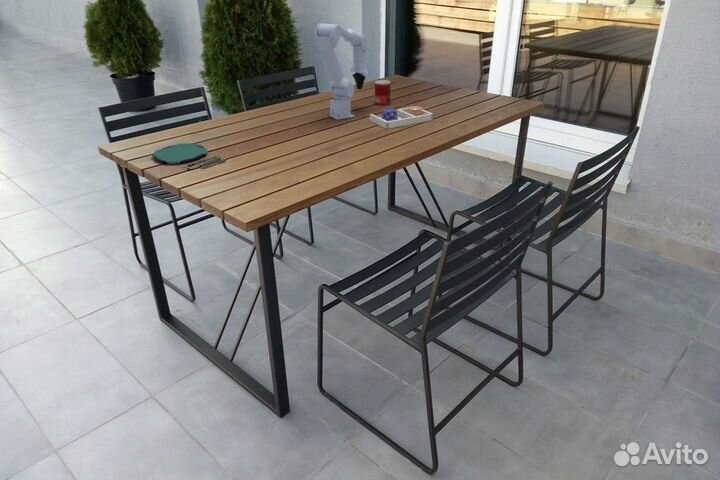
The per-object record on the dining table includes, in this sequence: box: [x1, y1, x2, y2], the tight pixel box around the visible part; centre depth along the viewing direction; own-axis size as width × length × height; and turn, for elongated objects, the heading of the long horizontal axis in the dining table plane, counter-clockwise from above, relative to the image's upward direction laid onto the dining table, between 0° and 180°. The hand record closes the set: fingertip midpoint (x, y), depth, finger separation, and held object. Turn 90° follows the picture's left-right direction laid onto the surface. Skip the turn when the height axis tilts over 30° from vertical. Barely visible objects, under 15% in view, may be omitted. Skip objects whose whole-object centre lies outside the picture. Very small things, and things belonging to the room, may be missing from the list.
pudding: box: [378, 108, 403, 121], centre depth 252 cm, size 12×12×5 cm
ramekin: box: [407, 105, 423, 116], centre depth 254 cm, size 7×7×5 cm
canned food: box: [374, 79, 391, 106], centre depth 277 cm, size 8×8×11 cm
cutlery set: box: [151, 142, 227, 170], centre depth 212 cm, size 20×30×2 cm, turn 47°
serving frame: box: [369, 107, 434, 130], centre depth 252 cm, size 25×15×3 cm, turn 119°
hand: (359, 88), depth 266 cm, fingers closed
